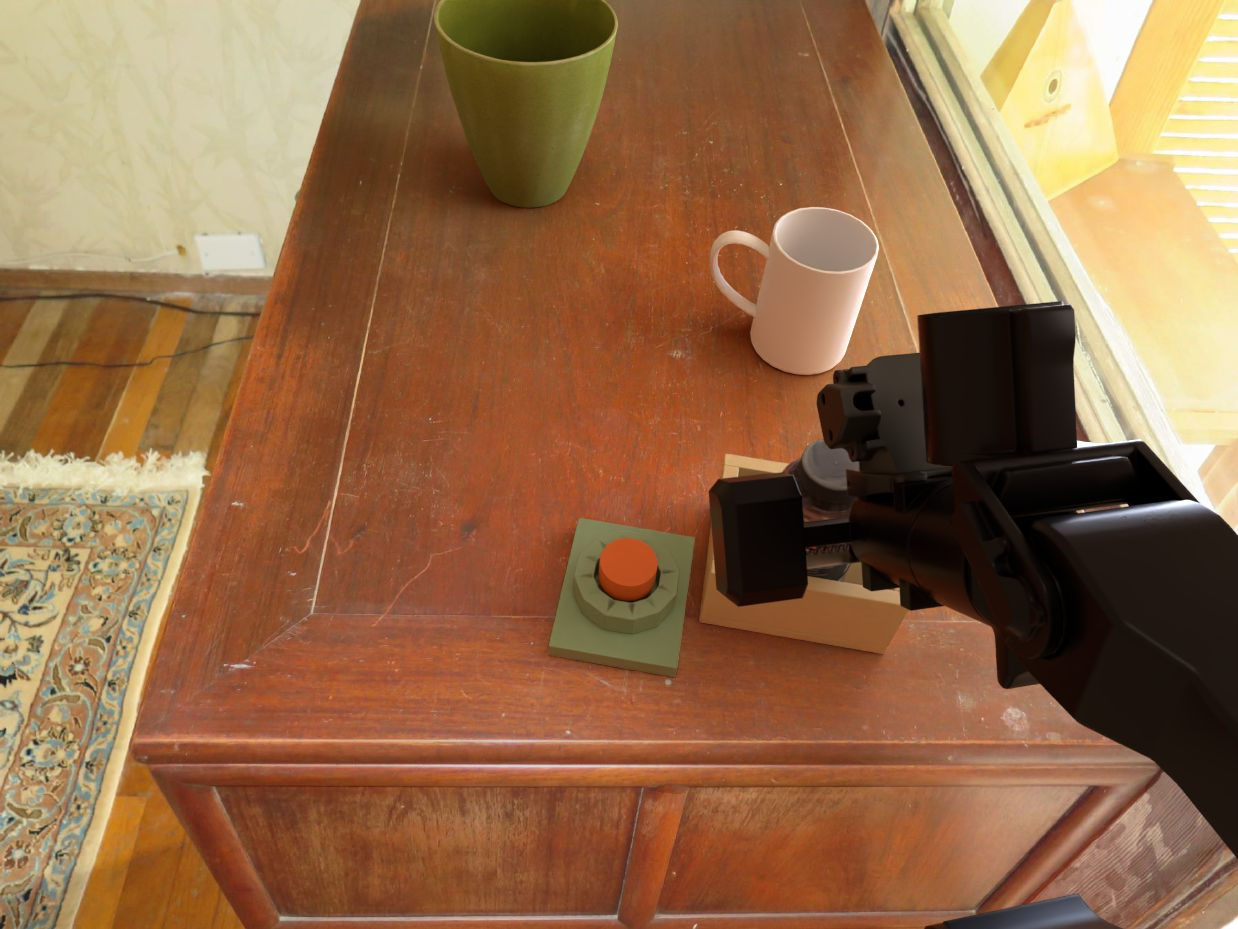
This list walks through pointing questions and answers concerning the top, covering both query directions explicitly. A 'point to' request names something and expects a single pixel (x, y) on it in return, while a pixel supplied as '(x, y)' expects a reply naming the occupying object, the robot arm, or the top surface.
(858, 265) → the mug
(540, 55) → the flower pot
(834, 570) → the supplement bottle
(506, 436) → the top surface
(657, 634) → the control block
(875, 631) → the shallow tan tray box
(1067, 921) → the robot arm
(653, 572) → the button
